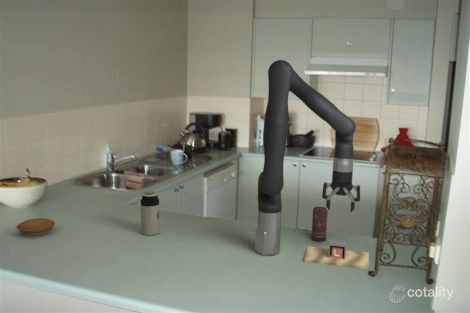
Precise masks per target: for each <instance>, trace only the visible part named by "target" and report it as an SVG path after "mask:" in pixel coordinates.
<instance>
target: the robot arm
mask: <svg viewBox="0 0 470 313" xmlns="http://www.w3.org/2000/svg"><path fill="white" fill-rule="evenodd" d="M267 77H268V95H267V104H266V108H265V114H264V122H263V130H262V131H263V132H262V140H263V142H262V143H263V153H264V154H263V155H264V161H263V169H262V171H261V173H259V176H258V179H257V180H258V181H257V227H256V228H255V230H254V231H255V234H254V236H255V238H254V240H255V241H254V245H255V246H254V251H255V252H257V253H258V254H259V255H261V256H264V257H266V256H268V257H269V256H276V255H279V254H280V253H281V235H282V234H281V233H282V232H281V231H282V230H281V229H282V207H283V206H282V190H283V188H284V185H285V184H284V182H285V180H284V160H285V153H286V149H287V148H286V147H287V141H288V140H287V139H288V133H289V123H290V122H289V120H290V118H289V116H290V115H289V93H292V94H293V95H294V96H295V97H297V98H298V99H299V100H300V101H301V102H302V103H303V104H304V105H305V106H306V107H307V108H309V109H310V111H311V112H313V114H315V115H316V116H318V117H319V118H320V119H321V120H323V121H324V122H325V123H327V124H328V125H329V127H331V128H332V129H333V130H334V132H335V138H334V139H335V140H334V141H335V144H334V150H333V151H334V152H333V155H334V156H333V160H332V161H333V162H332V174H331V183H328V182H327V181H325V182H323V186H322V193H321V197H322V199H325V200H326V203H325V204H326V205H325V206H326V207H325V208H326V209H327V210H329V211H330V210H331V199H332V198H333V197H334V196H335V195H336V196H343V197H345V196H347V197H348V199H350V210H349V211H350V213H352V212H354V211H355V208H356V206H355V204H356V203H357V202H360V201H361V185H360V184H357V185H356V184H355V185H353V177H354V176H353V174H354V173H353V172H354V143H353V140H354V133H355V132H356V128H357V127H356V123H355V121H354V119H352V118H351V117H350V116H348V115H346V113H344V112H343V111H341V110H340V109H339V108H338V107H337V106H336V105H335V104H334V103H333V102H331V100H329V99H328V98H327V97H326V96H324V95H323V94H322V93H320V92H319V91H317V90H316V89H315V88H314V87H312V86H311V85H310V84H308V82H306V81H305V80H304V79H303V78H302V77H301V76H300V75H299V74H298V73H297V72H296V70H295V69H294V68H293V66H292V65H291V64H290V62H288V61H286V60H282V59H277V60H275V61H273V62H272V63H271V64H270V66H269V67H268V71H267ZM329 187H330V189H331V190H332V191H331V192H329V194H328V195H327V189H329ZM353 189H354V191H355V192H356V197H354V195H353V193H352V192H351V191H352V190H353Z"/></svg>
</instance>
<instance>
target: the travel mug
mask: <svg viewBox="0 0 470 313" xmlns="http://www.w3.org/2000/svg"><path fill="white" fill-rule="evenodd" d="M140 196H141V200H140V226H141V227H140V229H141V230H140V231H141V232H140V233H141V234H142V235H144V236H155V235H158V234H159V233H160V230H161V228H160V227H161V226H160V223H161V222H160V199H159V192H158V191H154V190H149V191H143V192H141V195H140Z"/></svg>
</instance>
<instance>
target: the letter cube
mask: <svg viewBox="0 0 470 313" xmlns="http://www.w3.org/2000/svg"><path fill="white" fill-rule="evenodd" d="M342 254H343V247H339V246H332V258H341V259H342Z"/></svg>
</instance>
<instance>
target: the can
mask: <svg viewBox="0 0 470 313" xmlns="http://www.w3.org/2000/svg"><path fill="white" fill-rule="evenodd" d="M328 215H329V211H328V208H327V207H323V206H316V207H313V210H312V219H311V220H312V222H311V240H312V241H314V242H317V243H323V242H325V241H326V240H327V223H328V222H327V221H328Z"/></svg>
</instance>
